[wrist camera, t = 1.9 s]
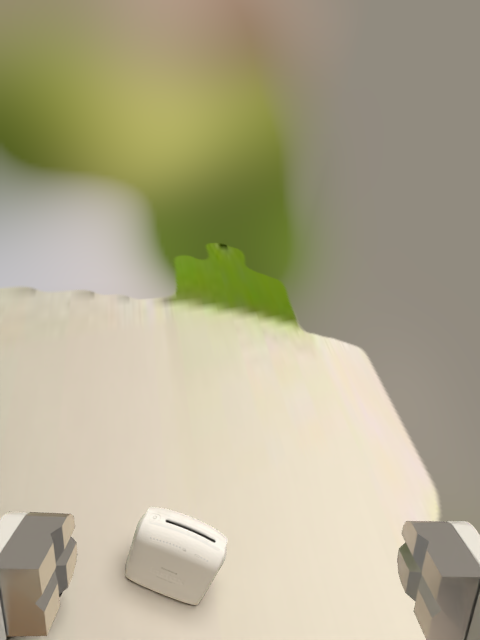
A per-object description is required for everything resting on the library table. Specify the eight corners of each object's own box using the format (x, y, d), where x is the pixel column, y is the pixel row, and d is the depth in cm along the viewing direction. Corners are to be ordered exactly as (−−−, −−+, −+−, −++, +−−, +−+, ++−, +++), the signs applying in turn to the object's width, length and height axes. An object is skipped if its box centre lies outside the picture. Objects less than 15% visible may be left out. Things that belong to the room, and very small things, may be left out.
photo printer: (117, 579, 47) (133, 527, 40) (133, 543, 51) (150, 490, 44) (199, 613, 47) (228, 567, 40) (209, 575, 50) (238, 526, 44)
